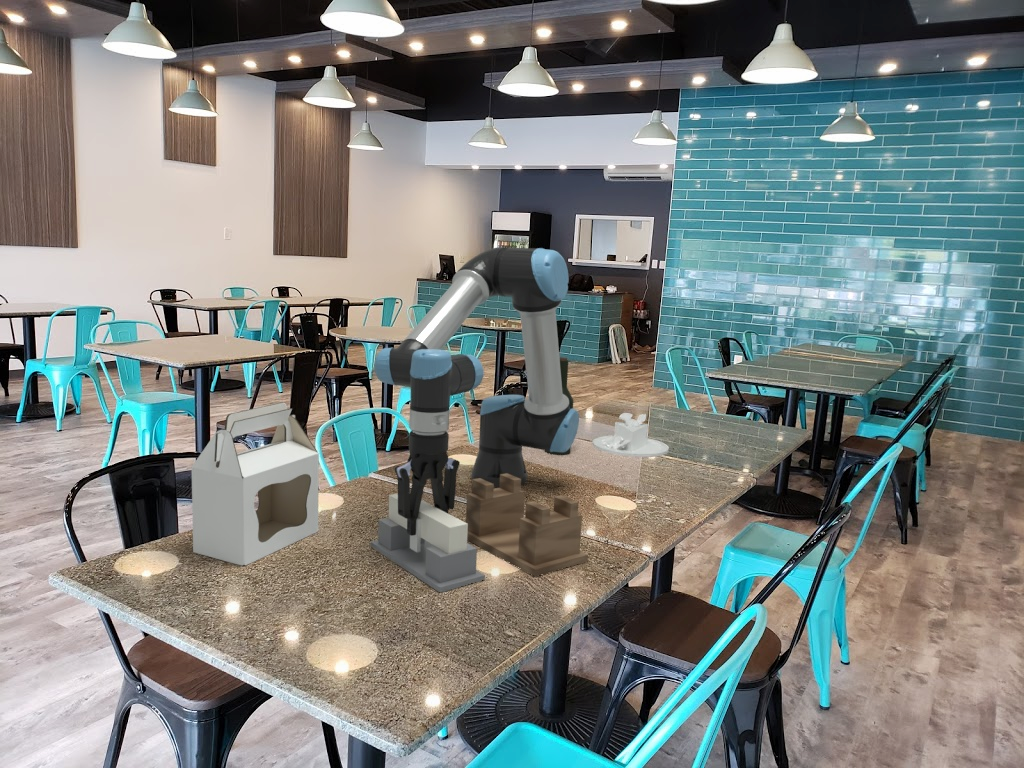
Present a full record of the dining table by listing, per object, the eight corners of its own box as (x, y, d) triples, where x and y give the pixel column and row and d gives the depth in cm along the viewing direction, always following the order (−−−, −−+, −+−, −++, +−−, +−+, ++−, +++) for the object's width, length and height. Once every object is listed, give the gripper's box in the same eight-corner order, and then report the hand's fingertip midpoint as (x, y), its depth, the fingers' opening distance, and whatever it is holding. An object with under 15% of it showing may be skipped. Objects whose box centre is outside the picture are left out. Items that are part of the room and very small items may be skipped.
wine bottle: (563, 456, 235) (569, 360, 230) (539, 452, 239) (545, 357, 234) (575, 451, 242) (581, 358, 237) (552, 447, 246) (558, 355, 241)
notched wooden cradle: (457, 534, 165) (459, 479, 163) (508, 523, 174) (510, 470, 172) (535, 577, 145) (538, 514, 143) (587, 561, 154) (591, 502, 152)
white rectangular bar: (388, 518, 156) (389, 494, 155) (405, 515, 158) (406, 491, 157) (448, 553, 139) (449, 527, 138) (466, 549, 141) (467, 523, 141)
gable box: (243, 567, 143) (241, 422, 139) (191, 553, 149) (188, 412, 144) (319, 531, 163) (320, 403, 159) (271, 520, 169) (271, 395, 164)
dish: (593, 436, 265) (595, 404, 263) (666, 442, 262) (669, 410, 260) (591, 454, 241) (593, 419, 239) (671, 460, 238) (674, 425, 236)
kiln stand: (370, 546, 156) (370, 518, 155) (412, 536, 163) (412, 509, 162) (439, 592, 137) (441, 561, 136) (484, 580, 143) (486, 549, 142)
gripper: (400, 440, 137) (396, 563, 141) (476, 430, 148) (472, 545, 152) (379, 431, 143) (377, 549, 147) (454, 422, 153) (450, 533, 157)
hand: (425, 547), depth 149 cm, fingers closed on white rectangular bar, 4 cm apart
